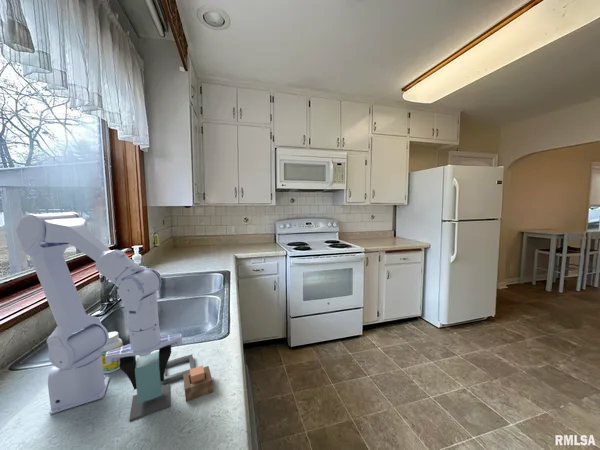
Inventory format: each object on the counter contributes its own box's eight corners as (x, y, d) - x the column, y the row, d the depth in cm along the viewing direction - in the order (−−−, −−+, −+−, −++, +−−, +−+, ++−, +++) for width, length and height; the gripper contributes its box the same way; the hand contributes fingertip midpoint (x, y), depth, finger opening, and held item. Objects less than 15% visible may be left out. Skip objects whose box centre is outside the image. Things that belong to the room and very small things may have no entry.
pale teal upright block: (138, 403, 55) (134, 368, 54) (139, 390, 59) (136, 357, 58) (161, 395, 57) (158, 362, 56) (161, 383, 61) (159, 351, 60)
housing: (185, 401, 58) (184, 389, 58) (184, 385, 63) (183, 373, 63) (213, 391, 61) (212, 379, 60) (209, 376, 66) (208, 365, 66)
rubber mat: (129, 421, 53) (129, 419, 53) (133, 397, 60) (133, 395, 60) (170, 406, 57) (170, 405, 57) (169, 385, 63) (169, 383, 63)
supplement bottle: (125, 359, 75) (121, 328, 74) (124, 368, 70) (121, 336, 69) (102, 366, 72) (98, 333, 71) (100, 376, 67) (96, 342, 66)
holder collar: (161, 385, 64) (160, 380, 63) (161, 367, 71) (161, 363, 70) (195, 373, 67) (195, 369, 67) (192, 358, 74) (192, 354, 74)
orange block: (192, 392, 60) (190, 376, 60) (190, 384, 63) (189, 369, 62) (205, 387, 61) (204, 372, 61) (203, 380, 64) (202, 365, 64)
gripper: (99, 343, 50) (106, 407, 51) (181, 324, 56) (185, 381, 58) (106, 327, 56) (112, 385, 57) (179, 312, 63) (183, 364, 64)
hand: (149, 382), depth 58 cm, fingers closed on pale teal upright block, 4 cm apart
